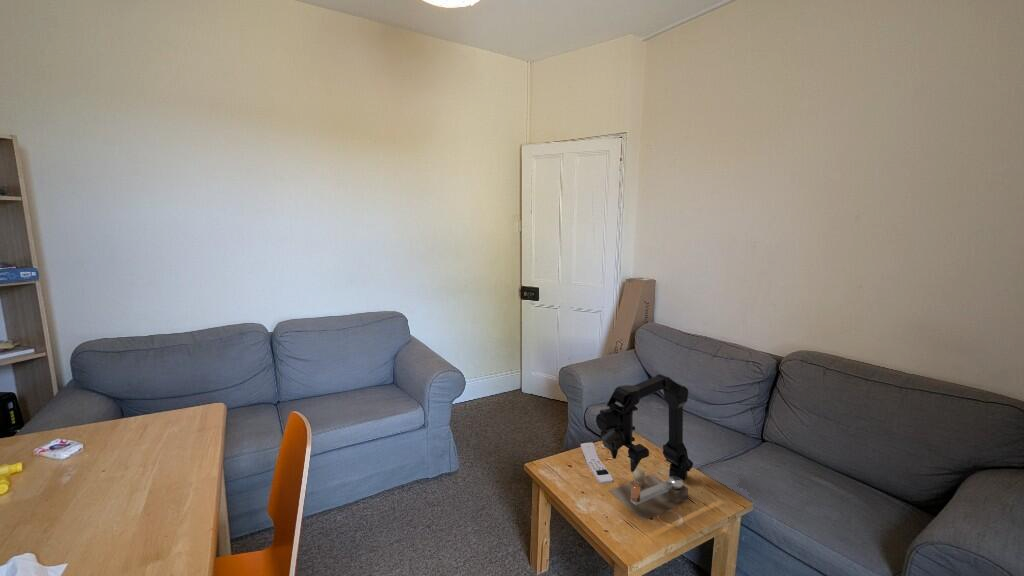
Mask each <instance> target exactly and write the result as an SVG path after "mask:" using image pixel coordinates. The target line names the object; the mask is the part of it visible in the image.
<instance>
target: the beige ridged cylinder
mask: <svg viewBox="0 0 1024 576" xmlns="http://www.w3.org/2000/svg"><path fill="white" fill-rule="evenodd" d="M632 473H633V476H632V478H633V479H632V481H633V483H637V484H639V485H640V486H641V488H643V487H644V477H645V476H646V475H645V469H644V468H643V467H641V466H637V467H636V469H635V471H634V472H632Z"/></svg>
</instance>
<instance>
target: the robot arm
mask: <svg viewBox="0 0 1024 576" xmlns="http://www.w3.org/2000/svg"><path fill="white" fill-rule="evenodd" d="M661 390H662V391H663V398H664V399H665V401H666V403H667V405H668V440H667V442H666V443H665V444H663V445H662V454H663V456H664V457H663V458H665V461H666V462H668V463H670V464H669V470H668V471H669V472H668V473H669V475H668V478H669V477H670V476H677V477H679V478H681V479H682V480H683V481H685V480H686V479H687V477H688V472H690V471H691V469H693V466H694V462H693V461H692V460H691V459H690V458H689V456H688V449H687V448H686V445H685V444H684V442H683V440H684V439H683V438H684V436H683V435H684V434H683V433H684V431H683V427H684V423H683V422H684V415H683V414H684V406H685V405H686V404H687V402H688V397H689V388H687V387H686V385H682V384H680V383H678V382H675V381H674V380H673V379H672V378H671V377H669V376H667V375H664V374H661V373H660V374H657V375H655V376H654V377H651V378H649V379H646V380H644V381H641V382H639V383H637V384H634V385H627V384H626V385H619V386H617V387H615V388H614V391H613V393H612V395H611V396H610V397H609V400H608V402H607V404H606V407H607V408H606V409H601V410H599V413H598V414H597V415H596V417H595V422H596V425H597V428H598V429H599V430H600V438H601V441H602V445H603V447H604V448H606V449H608V451H610V453H611V457H612V459H613V460H615V459H617V456H618V452H619V449H621V448H622V447H623V446H624V447H626V449H628V450H627V454H628V455H627V457H628V458H629V459H630V460H629V462H630V472H632V473H633V472H634V471H635V469H636V467H638V466H639V463H640V462H641V461H642V460H643V459H645V458H648V457H650V456H649V455H650V449H648V447H646V446H644V445H643V444H641V443H637V444H634V443H633V442H635V441H636V439H635V438H636V437H633V431H636V426H634V425H633V423H634V422H633V421H634V416H633V415H634V411H638V409H639V408H638V407H637V406H636V405H638V404H639V403H640V400H641V399H644V398H645V397H647V396H650V395H652V394H655V393H657V392H659V391H661ZM618 404H619V405H618Z"/></svg>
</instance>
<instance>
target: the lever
mask: <svg viewBox="0 0 1024 576" xmlns="http://www.w3.org/2000/svg"><path fill="white" fill-rule="evenodd" d="M667 478H668V479H667V480H666V481H663V483H660V484H658V485H656V486H653V487H651V488H648V489H646V490H643V491H641V492H640V488H641V486H640V485H639V484H637V483H633V484H631V502H632V503H634V504H635V505H637V504H640V503H642V502H644V501H647V500H649V499H651V498H654V497H656V496H658V495H661V494H663V493H665V492H668V491H670V490H672V489H676V490H680V489H682V488H683V485H684V480H682V479H681V478H679V477H677V476H670V477H669V476H668V477H667Z"/></svg>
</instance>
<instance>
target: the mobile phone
mask: <svg viewBox="0 0 1024 576" xmlns="http://www.w3.org/2000/svg"><path fill="white" fill-rule="evenodd" d="M580 448H581V451H582V452H583V453H582V454H583V456H584V458H585V461H586V463H585V464H586V465H587V466H588V467H589V469H590V471H591V473H592V475H593V476H594V477H595V479H596V481H597V482H598V483H599V484H601V485H603V484H604V485H605V484H611V483H613V482H614V479H613V477H612V475H611V473H610V472H609V470H608V469H607V467H606V466H605V465H604V464H603V462H601V460H600V459H599V457H598V453H597V451H596V448H595V444H594V442H583V443H580Z"/></svg>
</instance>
